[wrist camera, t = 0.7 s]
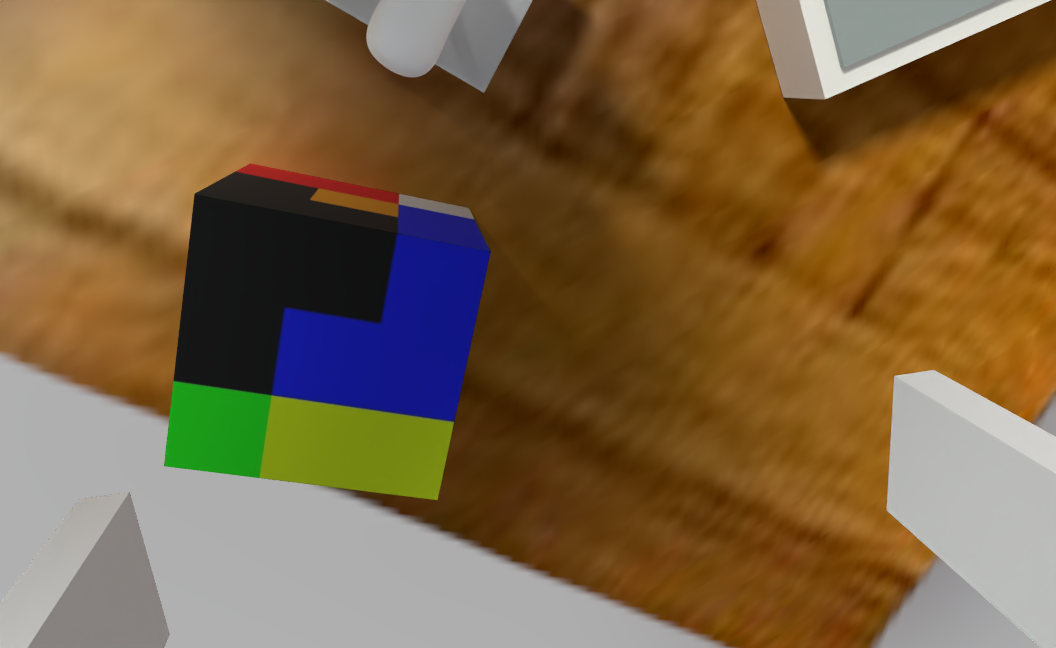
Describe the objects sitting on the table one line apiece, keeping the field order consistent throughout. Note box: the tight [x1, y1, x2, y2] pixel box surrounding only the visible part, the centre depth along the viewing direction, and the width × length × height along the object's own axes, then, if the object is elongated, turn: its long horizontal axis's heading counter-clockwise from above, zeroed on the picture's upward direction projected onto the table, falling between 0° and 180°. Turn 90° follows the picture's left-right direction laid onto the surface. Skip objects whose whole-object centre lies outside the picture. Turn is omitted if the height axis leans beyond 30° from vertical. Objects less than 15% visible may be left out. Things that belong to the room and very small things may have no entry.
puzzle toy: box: [164, 164, 491, 500], centre depth 33 cm, size 10×10×10 cm
